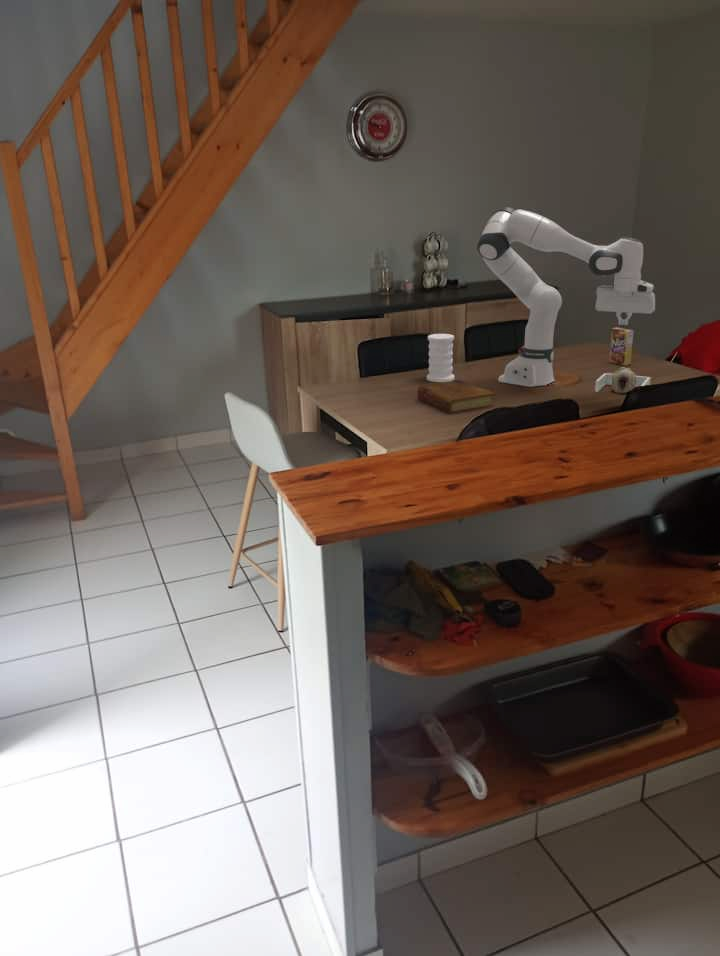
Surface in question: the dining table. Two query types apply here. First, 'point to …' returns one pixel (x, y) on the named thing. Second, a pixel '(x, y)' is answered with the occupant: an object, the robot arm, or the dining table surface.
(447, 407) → the diary
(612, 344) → the candy box
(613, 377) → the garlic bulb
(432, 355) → the decorative container
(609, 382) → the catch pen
